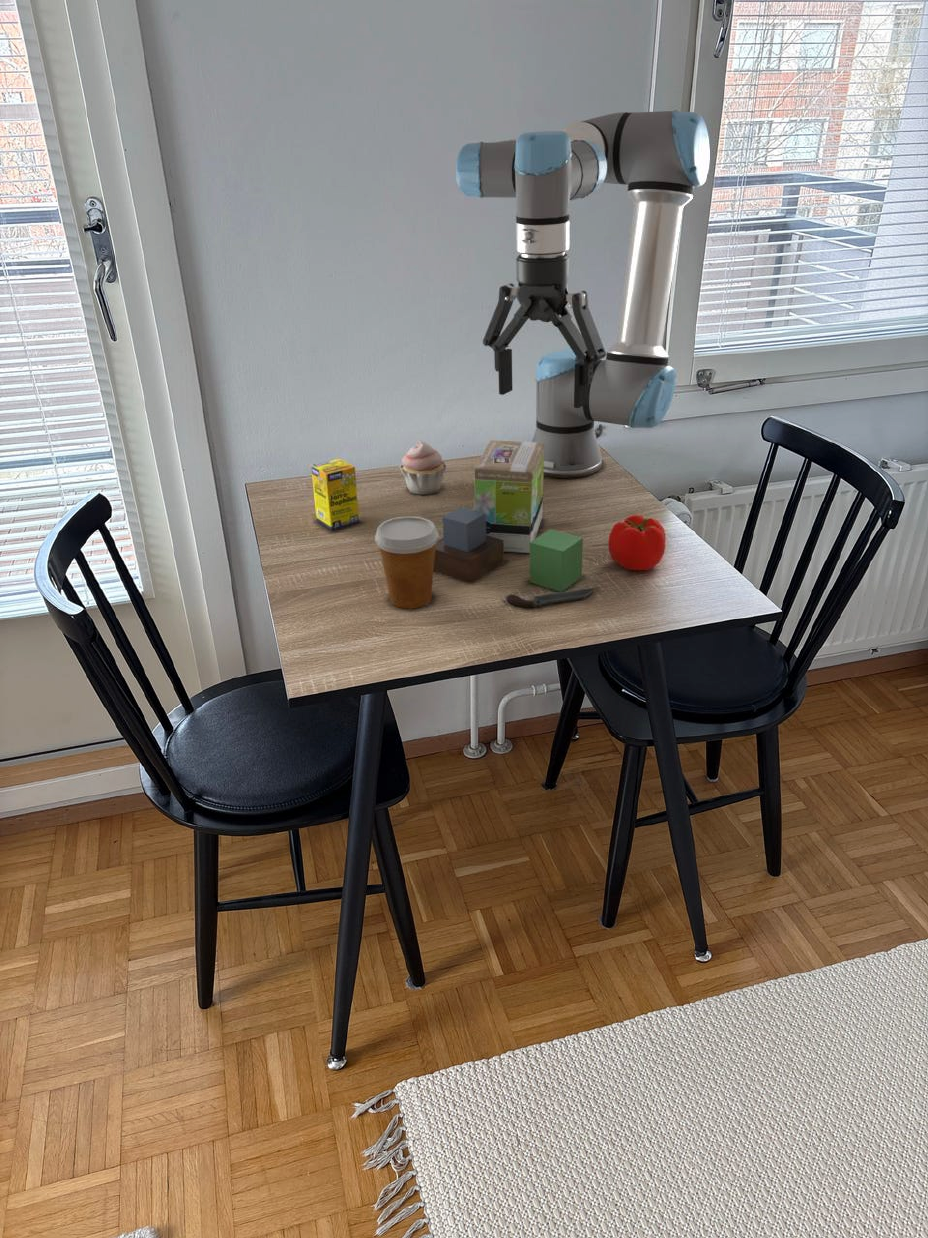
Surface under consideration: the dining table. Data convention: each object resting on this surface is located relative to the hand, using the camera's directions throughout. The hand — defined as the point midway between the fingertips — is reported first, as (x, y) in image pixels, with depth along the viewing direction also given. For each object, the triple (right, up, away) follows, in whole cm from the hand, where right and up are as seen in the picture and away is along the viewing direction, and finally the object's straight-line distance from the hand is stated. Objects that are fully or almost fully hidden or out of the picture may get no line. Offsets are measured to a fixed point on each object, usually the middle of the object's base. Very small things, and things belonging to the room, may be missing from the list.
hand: (542, 398), depth 144 cm
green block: (+2, -28, +4) cm, 28 cm away
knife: (+2, -31, -2) cm, 31 cm away
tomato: (+16, -25, +8) cm, 31 cm away
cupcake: (-20, -9, +39) cm, 44 cm away
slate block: (-12, -22, +7) cm, 26 cm away
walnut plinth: (-12, -25, +9) cm, 29 cm away
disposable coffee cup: (-20, -31, 0) cm, 37 cm away
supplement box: (-35, -17, +26) cm, 47 cm away
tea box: (-4, -19, +19) cm, 28 cm away
